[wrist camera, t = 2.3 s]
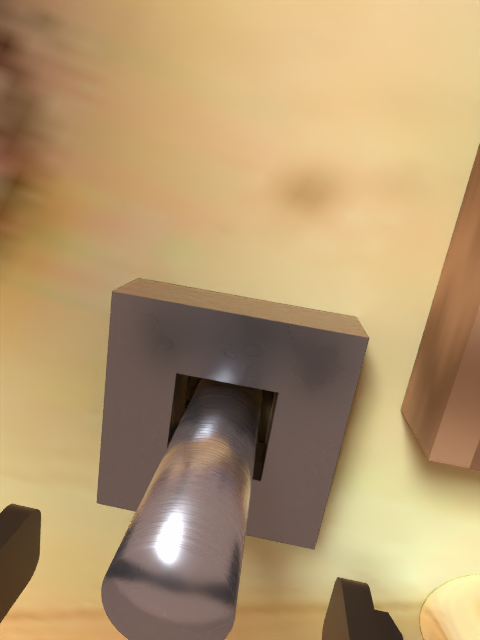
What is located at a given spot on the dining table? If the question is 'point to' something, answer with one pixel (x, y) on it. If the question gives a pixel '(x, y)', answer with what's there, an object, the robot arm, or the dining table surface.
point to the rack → (452, 349)
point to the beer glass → (453, 611)
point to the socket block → (236, 368)
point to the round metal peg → (190, 525)
